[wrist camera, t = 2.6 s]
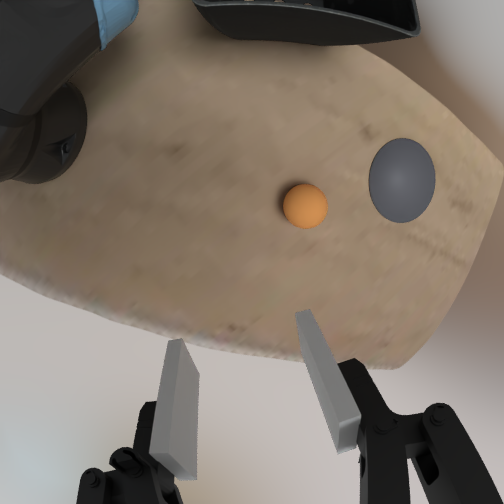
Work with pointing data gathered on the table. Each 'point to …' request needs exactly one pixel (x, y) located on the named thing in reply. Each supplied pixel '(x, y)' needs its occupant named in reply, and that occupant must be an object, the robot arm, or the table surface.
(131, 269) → the table surface
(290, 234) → the table surface
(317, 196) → the ball
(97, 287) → the table surface
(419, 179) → the disc
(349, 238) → the table surface
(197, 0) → the flower pot
